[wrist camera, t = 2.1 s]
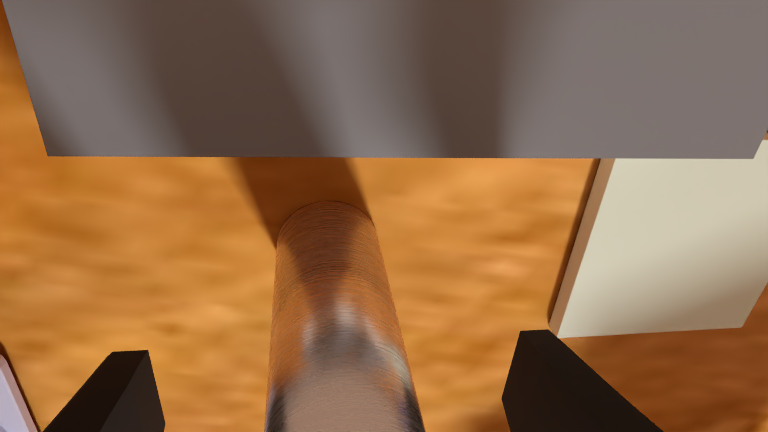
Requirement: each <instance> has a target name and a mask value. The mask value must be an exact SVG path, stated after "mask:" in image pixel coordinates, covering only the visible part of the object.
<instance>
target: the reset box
mask: <svg viewBox="0 0 768 432" xmlns="http://www.w3.org/2000/svg"><path fill="white" fill-rule="evenodd" d="M2 2H3V6H4V9H5V12H6V16H7V19H8V23H9V26H10V29H11V33H12V36H13V40H14V43H15V46H16V50H17V53H18V56H19V60H20V63H21V67H22V70H23V73H24V77H25V80H26V84H27V87H28V90H29V94H30V97H31V101H32V104H33V107H34V111H35V114H36V118H37V121H38V124H39V128H40V131H41V135H42V138H43V141H44V145H45V148H46V152H47V155H48V156H124V157H373V158H621V159H754V157H755V155H756V152H757V150H758V148H759V146H760V144H761V142H762V140H763V138H764V136H765V134H766V132H767V130H768V0H2Z"/></svg>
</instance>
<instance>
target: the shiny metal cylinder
mask: <svg viewBox="0 0 768 432" xmlns="http://www.w3.org/2000/svg"><path fill="white" fill-rule="evenodd" d="M264 432H426V431H425V427H424V423H423V419H422V415H421V411H420V407H419V403H418V399H417V395H416V391H415V387H414V383H413V378H412V374H411V370H410V366H409V362H408V358H407V354H406V350H405V346H404V342H403V338H402V334H401V330H400V326H399V322H398V318H397V314H396V310H395V306H394V302H393V298H392V294H391V289H390V285H389V281H388V277H387V273H386V269H385V265H384V261H383V257H382V253H381V249H380V245H379V241H378V237H377V233H376V230H375V227H374V225H373V223H372V222H371V220H370V219H369V218H368V217H367V216H366V215H365V214H364V213H363V212H362V211H361V210H359V209H357V208H356V207H354V206H351V205H349V204H346V203H342V202H336V201H323V202H317V203H313V204H309V205H307V206H305V207H302V208H301V209H299V210H297V211H296V212H294V213H293V214H292V215H291V216H290V217H289V218H288V219H287V220H286V221H285V222H284V224H283V225H282V227H281V229H280V232H279V234H278V239H277V251H276V266H275V281H274V295H273V310H272V325H271V340H270V355H269V370H268V384H267V399H266V414H265V429H264Z"/></svg>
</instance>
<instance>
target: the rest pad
mask: <svg viewBox="0 0 768 432" xmlns="http://www.w3.org/2000/svg"><path fill="white" fill-rule="evenodd" d="M767 283H768V132H766V134H765V136H764V138H763V140H762V142H761V144H760V146H759V148H758V150H757V152H756V155H755V157H754V159H621V158H601V161H600V164H599V167H598V170H597V173H596V176H595V180H594V183H593V186H592V189H591V192H590V196H589V199H588V202H587V205H586V208H585V212H584V215H583V218H582V221H581V224H580V228H579V231H578V234H577V237H576V240H575V243H574V247H573V250H572V253H571V256H570V259H569V263H568V266H567V269H566V272H565V275H564V279H563V282H562V285H561V288H560V291H559V294H558V298H557V301H556V304H555V307H554V310H553V314H552V317H551V320H550V323H549V327H550V328H551V330H552V332H553V333H554V335H555V336H556V337H557V338H569V337H587V336H604V335H621V334H638V333H655V332H672V331H690V330H707V329H724V328H741V327H742V326H743V324H744V323H745V321H746V319H747V318H748V316H749V314H750V312H751V311H752V309H753V307H754V305H755V304H756V302H757V300H758V298H759V297H760V295H761V293H762V291H763V290H764V288H765V286H766V284H767Z"/></svg>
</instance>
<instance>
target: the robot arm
mask: <svg viewBox="0 0 768 432" xmlns="http://www.w3.org/2000/svg"><path fill="white" fill-rule="evenodd" d="M502 402H503V406H504V409H505V413H506V417H507V420H508V424H509V427H510V431H511V432H663V431H662V430H661V429H660V428H659V427H657V426H656V425H655V424H654V423H653V422H651V421H650V420H649V419H648V418H647V417H646V416H644V415H643V414H642V413H641V412H640V411H639V410H637V409H636V408H635V407H634V406H633V405H632V404H631V403H629V402H628V401H627V400H626V399H625V398H624V397H623V396H621V395H620V394H619V393H618V392H617V391H616V390H615V389H614V388H612V387H611V386H610V385H609V384H608V383H607V382H606V381H605V380H604V379H602V378H601V377H600V376H599V375H598V374H597V373H596V372H595V371H594V370H593V369H592V368H590V367H589V366H588V365H587V364H586V363H585V362H584V361H583V360H582V359H581V358H579V357H578V356H577V355H576V354H575V353H574V352H573V351H572V350H571V349H570V348H569V347H567V346H566V345H565V344H564V343H563V342H562V341H561V340H560V339H559V338H557V337H556V336H555V335H554V334H553V333H552V332H551V331H549V330H529V331H520V334H519V338H518V341H517V345H516V349H515V352H514V356H513V359H512V363H511V366H510V370H509V374H508V377H507V381H506V384H505V388H504V392H503V395H502ZM164 428H165V420H164V416H163V411H162V407H161V403H160V399H159V395H158V390H157V386H156V382H155V378H154V373H153V369H152V365H151V361H150V356H149V352H148V350H140V351H120V352H112V353H111V354H110V355H109V356H107V357H106V359H105V360H104V361H103V362H102V363H101V365H100V366H99V367H98V368H97V369H96V370H95V372H94V373H93V374H92V375H91V376H90V377H89V379H88V380H87V381H86V382H85V383H84V385H83V386H82V387H81V388H80V389H79V390H78V392H77V393H76V394H75V395H74V396H73V398H72V399H71V400H70V401H69V402H68V403H67V404H66V406H65V407H64V408H63V409H62V410H61V411H60V413H59V414H58V415H57V416H56V417H55V418H54V419H53V421H52V422H51V423H50V424H49V425H48V426H47V427H46V428H45V430H44V431H43V432H164ZM0 432H37V429H36V427H35V425H34V423H33V420H32V418H31V416H30V414H29V411H28V409H27V407H26V404H25V402H24V400H23V398H22V395H21V393H20V391H19V388H18V386H17V384H16V382H15V379H14V377H13V375H12V372H11V370H10V368H9V366H8V363H7V361H6V360H5V358H4V357H3V356H2V355H1V354H0Z"/></svg>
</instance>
